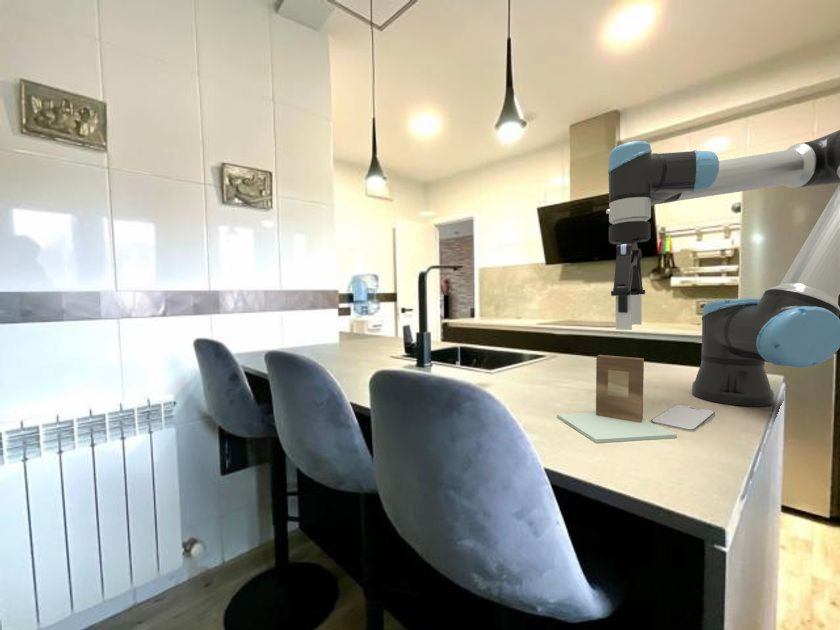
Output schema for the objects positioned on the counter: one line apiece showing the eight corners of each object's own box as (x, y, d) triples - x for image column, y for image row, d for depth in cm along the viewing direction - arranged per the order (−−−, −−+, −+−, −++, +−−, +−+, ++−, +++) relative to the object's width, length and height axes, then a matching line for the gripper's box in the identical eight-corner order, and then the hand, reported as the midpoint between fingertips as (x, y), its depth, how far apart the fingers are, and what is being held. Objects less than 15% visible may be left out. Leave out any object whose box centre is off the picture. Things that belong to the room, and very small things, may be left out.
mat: (624, 413, 82) (624, 410, 82) (676, 437, 68) (676, 434, 68) (556, 417, 80) (556, 414, 80) (595, 442, 66) (595, 439, 66)
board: (598, 412, 80) (599, 354, 80) (642, 419, 76) (643, 358, 75) (595, 415, 79) (596, 356, 78) (640, 422, 74) (642, 360, 73)
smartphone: (649, 420, 76) (675, 404, 85) (648, 426, 76) (675, 409, 85) (693, 430, 70) (716, 411, 80) (693, 436, 70) (716, 416, 80)
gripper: (620, 231, 92) (620, 322, 93) (595, 216, 72) (596, 331, 73) (657, 227, 88) (656, 322, 89) (641, 210, 68) (641, 333, 69)
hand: (629, 326), depth 81 cm, fingers open, 12 cm apart
